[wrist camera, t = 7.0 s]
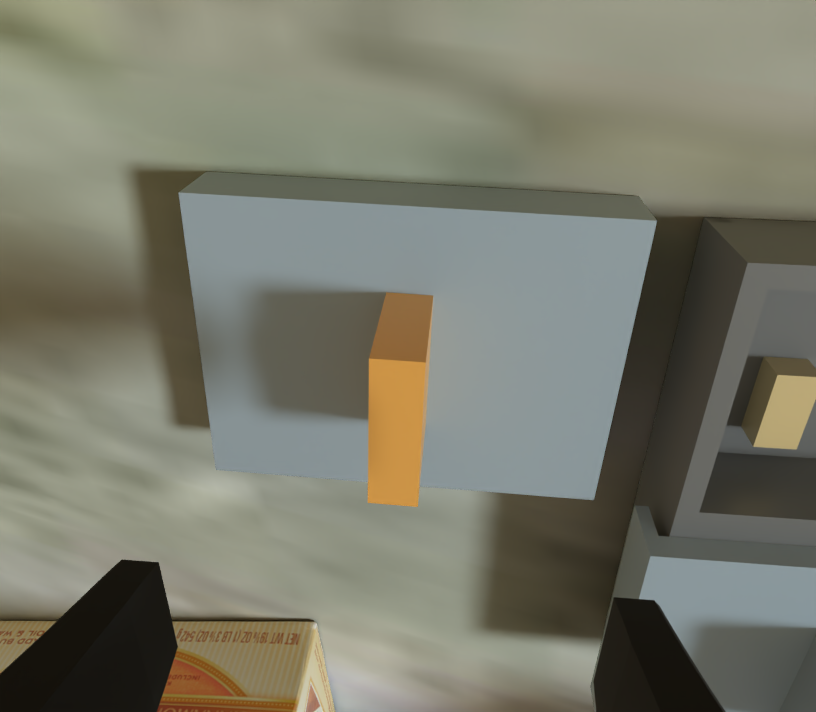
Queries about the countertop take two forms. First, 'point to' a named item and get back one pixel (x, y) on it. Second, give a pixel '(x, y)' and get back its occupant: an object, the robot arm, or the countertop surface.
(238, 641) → the coffeecake box
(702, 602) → the lid segment
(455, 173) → the countertop surface
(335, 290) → the tabbed lid segment
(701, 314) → the parts tub
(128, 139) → the countertop surface
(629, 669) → the robot arm
